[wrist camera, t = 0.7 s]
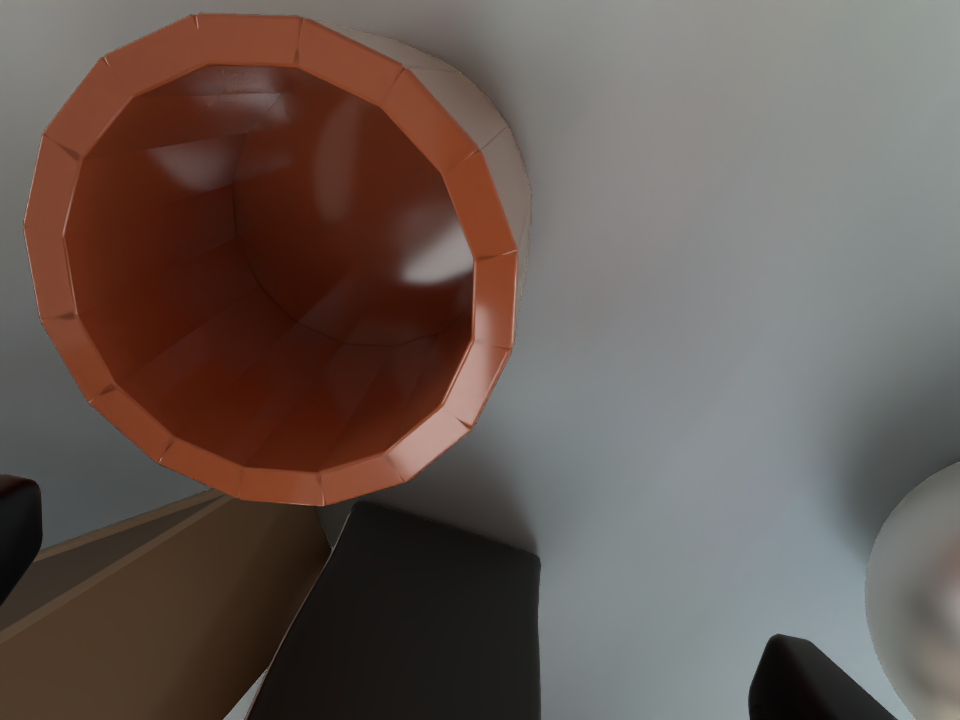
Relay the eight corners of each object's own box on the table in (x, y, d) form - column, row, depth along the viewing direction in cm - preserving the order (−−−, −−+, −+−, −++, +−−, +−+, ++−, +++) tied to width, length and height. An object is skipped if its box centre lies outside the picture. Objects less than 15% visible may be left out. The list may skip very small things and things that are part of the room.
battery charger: (327, 577, 26) (172, 914, 16) (352, 489, 25) (200, 792, 14) (515, 637, 27) (488, 1011, 16) (550, 551, 25) (546, 898, 14)
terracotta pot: (523, 370, 23) (504, 522, 15) (232, 351, 24) (69, 487, 16) (540, 45, 20) (530, 21, 12) (203, 35, 20) (-20, 6, 13)
